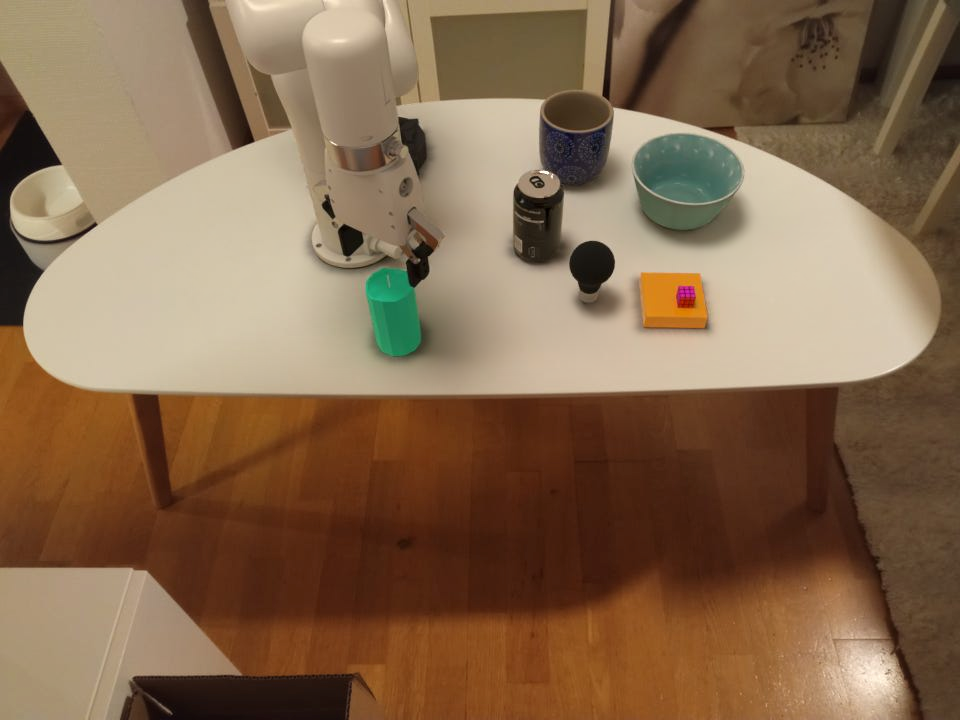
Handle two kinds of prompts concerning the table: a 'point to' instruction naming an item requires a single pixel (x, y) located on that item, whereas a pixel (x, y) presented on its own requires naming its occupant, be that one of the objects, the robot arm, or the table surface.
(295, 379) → the table surface
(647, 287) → the orange square tile
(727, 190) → the bowl
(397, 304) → the candle
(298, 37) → the robot arm
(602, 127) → the planter
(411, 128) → the ring
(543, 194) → the beverage can
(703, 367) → the table surface
